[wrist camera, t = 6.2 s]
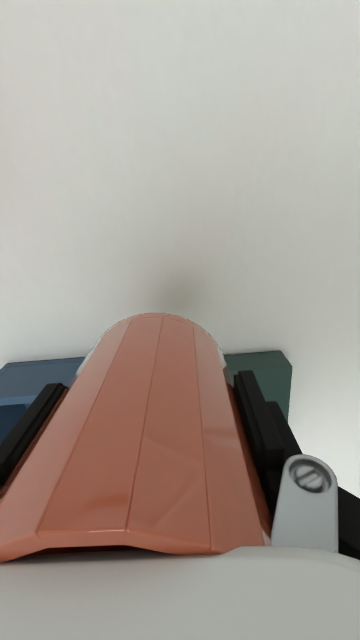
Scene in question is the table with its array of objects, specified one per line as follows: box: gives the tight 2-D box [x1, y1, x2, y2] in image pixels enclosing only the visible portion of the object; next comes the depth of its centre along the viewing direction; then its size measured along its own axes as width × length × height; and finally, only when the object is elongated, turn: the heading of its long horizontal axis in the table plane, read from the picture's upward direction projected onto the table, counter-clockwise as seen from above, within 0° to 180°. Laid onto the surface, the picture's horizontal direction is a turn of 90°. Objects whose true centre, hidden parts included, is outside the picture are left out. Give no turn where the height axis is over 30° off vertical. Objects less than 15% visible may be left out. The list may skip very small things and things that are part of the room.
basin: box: [0, 357, 86, 444], centre depth 27 cm, size 14×12×6 cm
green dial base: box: [223, 351, 292, 423], centre depth 28 cm, size 10×11×3 cm
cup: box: [0, 313, 273, 563], centre depth 9 cm, size 7×7×9 cm
